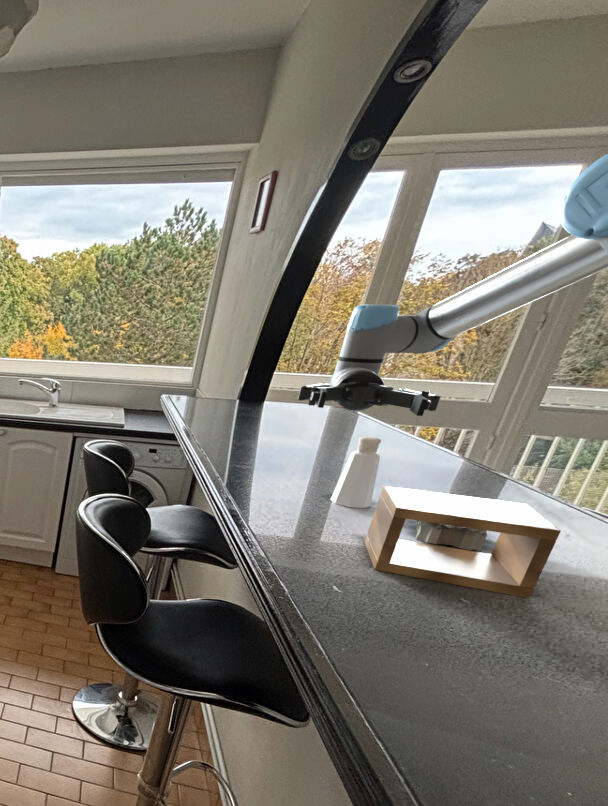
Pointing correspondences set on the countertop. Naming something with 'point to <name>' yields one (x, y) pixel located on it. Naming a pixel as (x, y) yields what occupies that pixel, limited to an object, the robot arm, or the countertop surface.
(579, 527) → the countertop surface
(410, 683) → the countertop surface
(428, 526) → the grey bumpy bar
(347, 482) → the pepper shaker
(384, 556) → the frame
